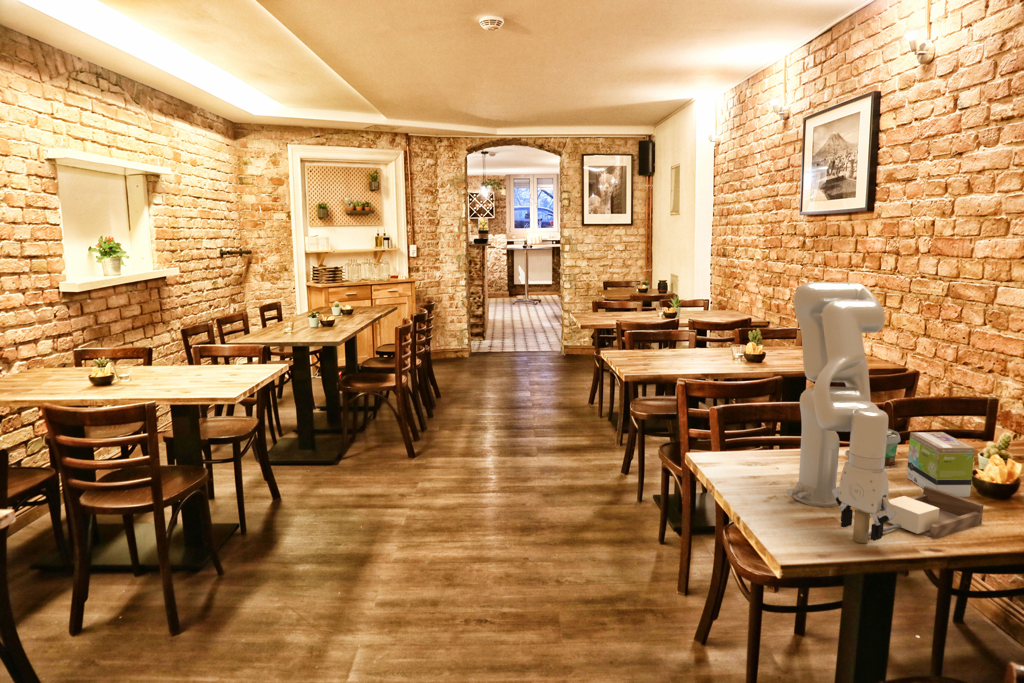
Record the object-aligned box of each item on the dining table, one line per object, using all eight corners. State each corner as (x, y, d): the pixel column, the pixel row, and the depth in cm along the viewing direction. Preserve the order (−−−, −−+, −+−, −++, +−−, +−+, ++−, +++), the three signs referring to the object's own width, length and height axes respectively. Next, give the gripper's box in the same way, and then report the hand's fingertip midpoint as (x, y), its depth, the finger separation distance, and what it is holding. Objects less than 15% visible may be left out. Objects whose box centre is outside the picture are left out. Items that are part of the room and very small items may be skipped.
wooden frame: (934, 538, 159) (936, 519, 158) (878, 516, 172) (880, 498, 171) (981, 523, 168) (983, 504, 167) (924, 503, 180) (926, 486, 180)
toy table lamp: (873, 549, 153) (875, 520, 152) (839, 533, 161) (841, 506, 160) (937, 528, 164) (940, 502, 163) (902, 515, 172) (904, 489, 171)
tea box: (904, 478, 200) (909, 430, 197) (938, 478, 199) (943, 431, 197) (934, 497, 185) (939, 446, 182) (971, 497, 184) (976, 446, 182)
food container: (895, 470, 206) (898, 439, 205) (873, 466, 210) (875, 436, 208) (901, 460, 216) (903, 430, 214) (879, 456, 219) (882, 427, 218)
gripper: (823, 452, 161) (818, 521, 164) (891, 475, 146) (884, 551, 149) (844, 448, 165) (839, 516, 167) (913, 469, 149) (906, 544, 152)
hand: (860, 532), depth 158 cm, fingers open, 7 cm apart
